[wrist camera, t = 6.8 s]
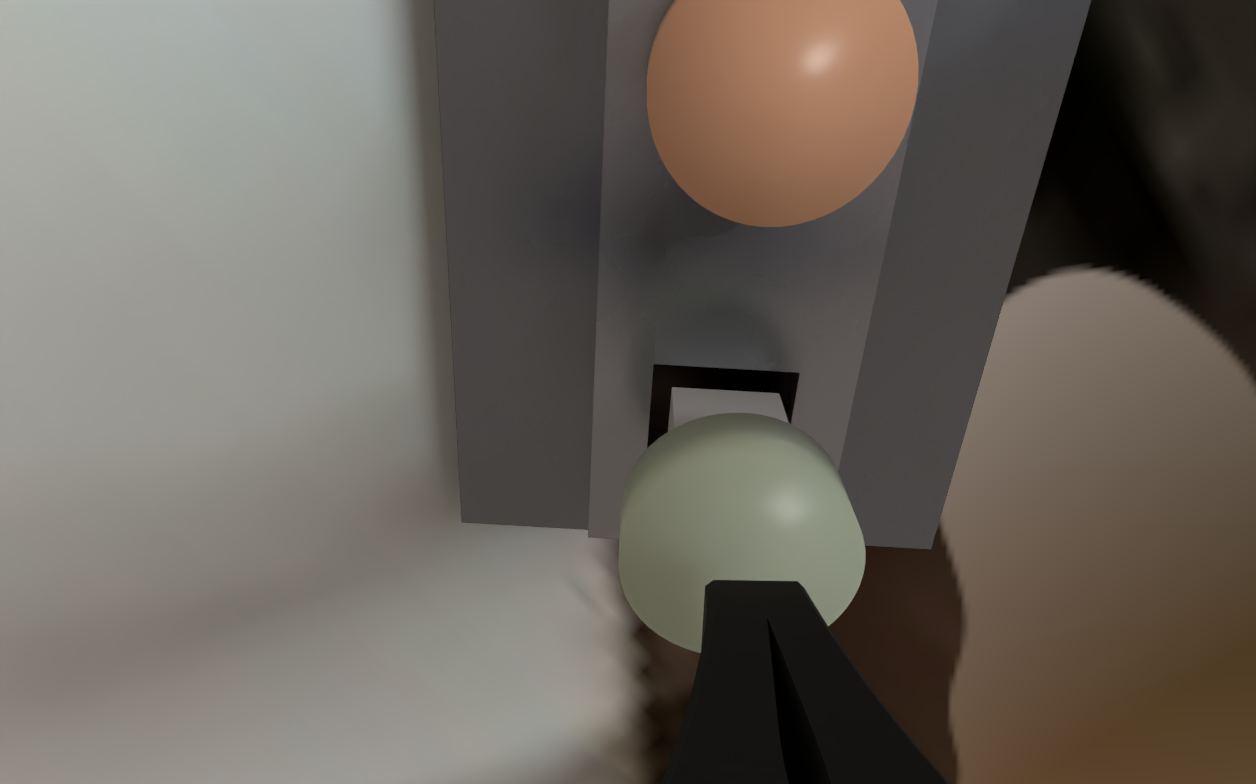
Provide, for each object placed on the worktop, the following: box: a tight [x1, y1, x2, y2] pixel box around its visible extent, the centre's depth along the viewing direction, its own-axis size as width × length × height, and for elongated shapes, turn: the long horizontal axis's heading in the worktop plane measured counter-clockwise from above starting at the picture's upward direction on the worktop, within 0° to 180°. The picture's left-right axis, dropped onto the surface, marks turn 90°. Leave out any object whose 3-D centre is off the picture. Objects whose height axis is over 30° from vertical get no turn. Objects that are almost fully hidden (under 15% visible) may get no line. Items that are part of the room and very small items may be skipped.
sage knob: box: [619, 387, 865, 653], centre depth 15 cm, size 4×4×4 cm
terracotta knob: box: [647, 0, 919, 227], centre depth 13 cm, size 4×4×4 cm
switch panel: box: [434, 0, 1091, 549], centre depth 15 cm, size 12×22×3 cm, turn 177°
